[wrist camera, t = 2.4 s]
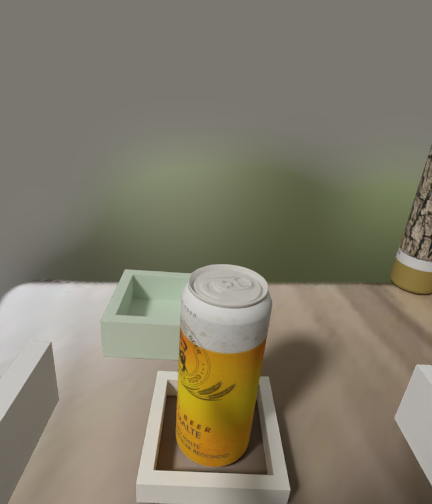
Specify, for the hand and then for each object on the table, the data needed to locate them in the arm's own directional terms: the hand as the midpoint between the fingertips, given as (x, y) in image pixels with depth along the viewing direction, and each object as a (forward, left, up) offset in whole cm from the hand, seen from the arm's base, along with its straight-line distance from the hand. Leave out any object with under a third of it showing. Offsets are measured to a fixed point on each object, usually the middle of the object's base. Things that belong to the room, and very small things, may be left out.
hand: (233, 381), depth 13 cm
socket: (+6, -25, -17) cm, 31 cm away
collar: (0, -11, -17) cm, 20 cm away
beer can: (0, -11, -17) cm, 20 cm away
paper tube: (-32, -40, -17) cm, 54 cm away
